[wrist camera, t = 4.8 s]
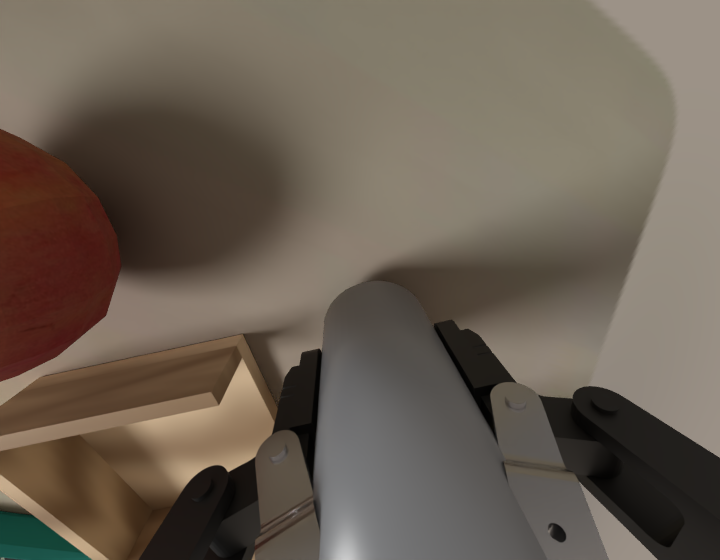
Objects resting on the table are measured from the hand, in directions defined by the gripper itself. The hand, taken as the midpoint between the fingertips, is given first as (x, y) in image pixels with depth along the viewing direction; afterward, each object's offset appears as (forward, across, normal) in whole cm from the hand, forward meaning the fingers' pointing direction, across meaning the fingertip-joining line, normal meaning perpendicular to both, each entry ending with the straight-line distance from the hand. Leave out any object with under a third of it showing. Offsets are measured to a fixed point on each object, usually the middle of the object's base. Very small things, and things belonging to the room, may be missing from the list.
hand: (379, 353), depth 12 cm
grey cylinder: (+2, 0, 0) cm, 2 cm away
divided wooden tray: (+3, +13, +12) cm, 18 cm away
